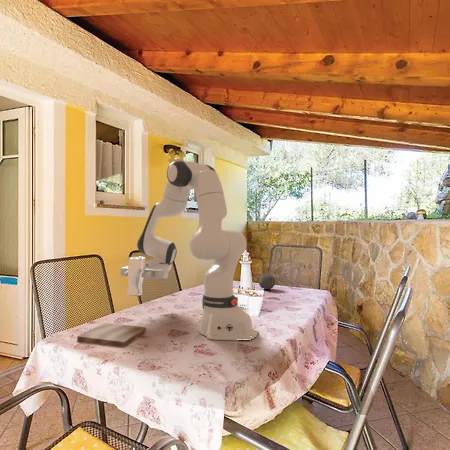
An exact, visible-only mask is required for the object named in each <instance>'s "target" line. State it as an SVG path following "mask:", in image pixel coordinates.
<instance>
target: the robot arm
mask: <svg viewBox="0 0 450 450" xmlns="http://www.w3.org/2000/svg"><path fill="white" fill-rule="evenodd" d="M166 177H167V181H166V185H165V187H164V191H163V195H162V198H161V199H160V201H159V202H156V203H155V204H154V205H153V207H152V208H151V211H150V213H149V215H148V217H147V220H146V223H145V225H144V227H143V230H142V233H141V235H140V236H139V238H138V240H137V242H136V247H137V249H138V251H139V253H141V254H143V255H146V256H150V257H152V259H149V260H145V261H146V264H145V273H143V274H142V277H144V278H143V280H146V281H153V280H160V279H161V280H166V279H169V272H170V271H171V269H172V266H173V263H174V261H175V260H176V257H177V254H178V253H177V251H178V250H177V247H176V244H175V242H173V241H171V240H167V239H166V238H165V239H164V238H162V237H159V236H156V235H155V231H156V228H157V226H158V223H159V220H160V219H161V218H171V217H172V218H173V217H177V216H180V215H182V213H184V212H185V210H186V207H187V205H188V200H189V195H190V191H192V190H194V192H195V193H194V194H195V198H196V205H197V209H198V227H197V229H196V231H195V233H194V234H193V235H192V236H191V238H190V242H189V249H190V253H191V254H192V256H194V258H196V259H199V260H205V261H211V260H213V262H212V264H211V266H210V267H209V269H208V270H207V271H206V272H205V274H204V277H203V278H204V280H203V281H204V283H203V286H204V288H203V294H202V303H201V305H202V317H201V322H200V326H199V330H198V332H199V334H201V335H202V336H205V337H206V338H207V339H208V340H216V341H238V340H237V339H242V340H243V339H252V338H253V337H255V336H256V334H257V332H258V329H257V328H256V327H255V326H253V323H252V317H251V316H250V314H249V313H247V312H246V311H245V310H244V309H243V308H241V307H240V306H239V305H238V300H239V299H238V298H239V296H235V295H234V293H233V290H234V275H235V270H236V267H237V265H238V262H239V260H240V259H241V256H242V255H243V254H244V253H245V252H246V250H247V245H248V244H247V238H246V237H245V235H244V234H243V233H242V232H238V231H235V230H233V229H232V230H231V229H230V230H228V229H225V230H223V229H222V223H223V222H222V221H223V220H224V219H225V218H226V217H227V214H228V210H227V209H228V208H227V204H226V203H227V202H226V199H225V194H224V189H223V185H222V182H221V180H220V177H219V174H218V173H217V171H216V170H215V168H214V167H212V166H211V165H208V164H203V163H199V162H195V161H187V160H186V161H185V160H184V161H183V160H174V161H172V162H171V163H170V164H169V165H168V167H167V171H166ZM119 272H120V273H119V274H120V276H121V277H128V265H126V266H122V267H120V269H119ZM254 329H256V330H254ZM257 335H258V334H257ZM250 336H252V337H250ZM256 337H257V336H256Z"/></svg>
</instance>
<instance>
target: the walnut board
mask: <svg viewBox="0 0 450 450" xmlns="http://www.w3.org/2000/svg"><path fill="white" fill-rule="evenodd" d="M146 332H147V327H146V326H138V325H128V324H127V325H126V324H120V323H119V324H118V323H109V322H103V323H101V324H99V325H97V326H95V327H94V328H92V329H89V330H87V331H85V332H83V333H81V334H79V335H78V336H77V337H76V338H77V339H76V340H77V341H78V342H86V343H94V344H101V345H110V346H118V347H126V346H127V345H128V344H130V343H131V342H133V341H134V340H135V339H137V338H139V337H140V336H141V335H143V334H144V333H146Z"/></svg>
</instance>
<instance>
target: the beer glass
mask: <svg viewBox="0 0 450 450" xmlns="http://www.w3.org/2000/svg"><path fill="white" fill-rule="evenodd" d="M146 259H147V258H146V257H143V256H130V257H128V263H127V266H128V276H127V280H128V281H127V282H128V287H127V290H126V295H127V296H132V297H139V296H141V295H143V287H142V285H143V282H144V281H143V280H144V277H142V274H143V273H145V264H146V261H147V260H146Z"/></svg>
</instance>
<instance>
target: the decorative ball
mask: <svg viewBox="0 0 450 450" xmlns="http://www.w3.org/2000/svg"><path fill="white" fill-rule="evenodd" d="M275 280H276V279H275V277H274V276H273V275H271V274H270V273H264V274H262V275H260V277H259V279H258V285H259V287H260V288H261V289H262V288H264V289H270V290H271V289H273V288H274V286H275V284H276V281H275ZM264 289H263V290H264Z"/></svg>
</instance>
